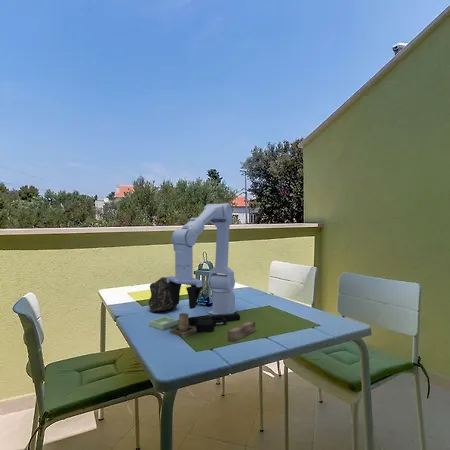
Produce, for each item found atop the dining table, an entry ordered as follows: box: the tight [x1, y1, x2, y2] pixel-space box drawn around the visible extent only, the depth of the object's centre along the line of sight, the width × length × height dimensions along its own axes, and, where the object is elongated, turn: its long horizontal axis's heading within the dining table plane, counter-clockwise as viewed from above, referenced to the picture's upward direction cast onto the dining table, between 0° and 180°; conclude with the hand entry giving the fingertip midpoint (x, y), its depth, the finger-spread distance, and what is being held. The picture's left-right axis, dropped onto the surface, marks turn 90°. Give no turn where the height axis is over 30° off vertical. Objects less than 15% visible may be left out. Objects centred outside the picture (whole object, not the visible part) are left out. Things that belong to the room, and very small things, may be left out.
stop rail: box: [227, 320, 256, 343], centre depth 101 cm, size 13×2×3 cm, turn 143°
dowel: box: [178, 312, 189, 332], centre depth 104 cm, size 3×3×6 cm
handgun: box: [188, 312, 241, 333], centre depth 112 cm, size 19×3×12 cm
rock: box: [148, 276, 178, 313], centre depth 133 cm, size 14×13×15 cm
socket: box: [169, 325, 198, 338], centre depth 104 cm, size 7×7×1 cm
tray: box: [148, 316, 179, 331], centre depth 111 cm, size 7×7×2 cm
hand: (184, 306), depth 104 cm, fingers open, 7 cm apart
